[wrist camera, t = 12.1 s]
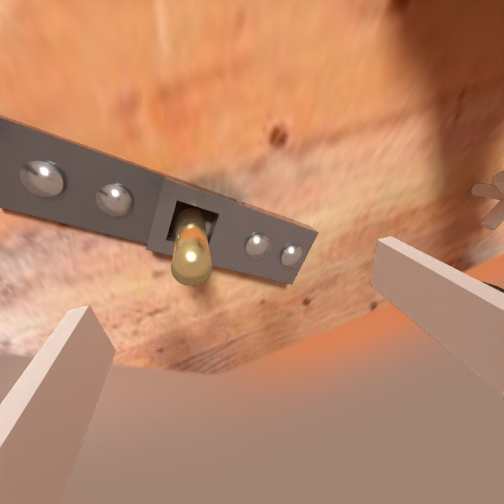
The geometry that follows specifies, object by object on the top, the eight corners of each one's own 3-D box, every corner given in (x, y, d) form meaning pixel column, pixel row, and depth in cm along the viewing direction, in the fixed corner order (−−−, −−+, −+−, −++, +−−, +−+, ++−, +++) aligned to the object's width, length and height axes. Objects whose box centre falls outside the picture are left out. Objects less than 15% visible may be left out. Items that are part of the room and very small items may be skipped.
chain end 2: (149, 240, 28) (145, 251, 25) (166, 174, 25) (163, 179, 22) (284, 274, 35) (293, 286, 32) (309, 225, 32) (320, 234, 29)
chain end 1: (234, 199, 28) (237, 202, 27) (213, 256, 31) (215, 263, 29) (0, 115, 20) (-16, 113, 19) (-2, 201, 23) (-16, 206, 21)
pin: (175, 211, 27) (165, 255, 17) (201, 206, 28) (207, 246, 17) (182, 234, 28) (177, 289, 18) (206, 229, 29) (215, 280, 18)
